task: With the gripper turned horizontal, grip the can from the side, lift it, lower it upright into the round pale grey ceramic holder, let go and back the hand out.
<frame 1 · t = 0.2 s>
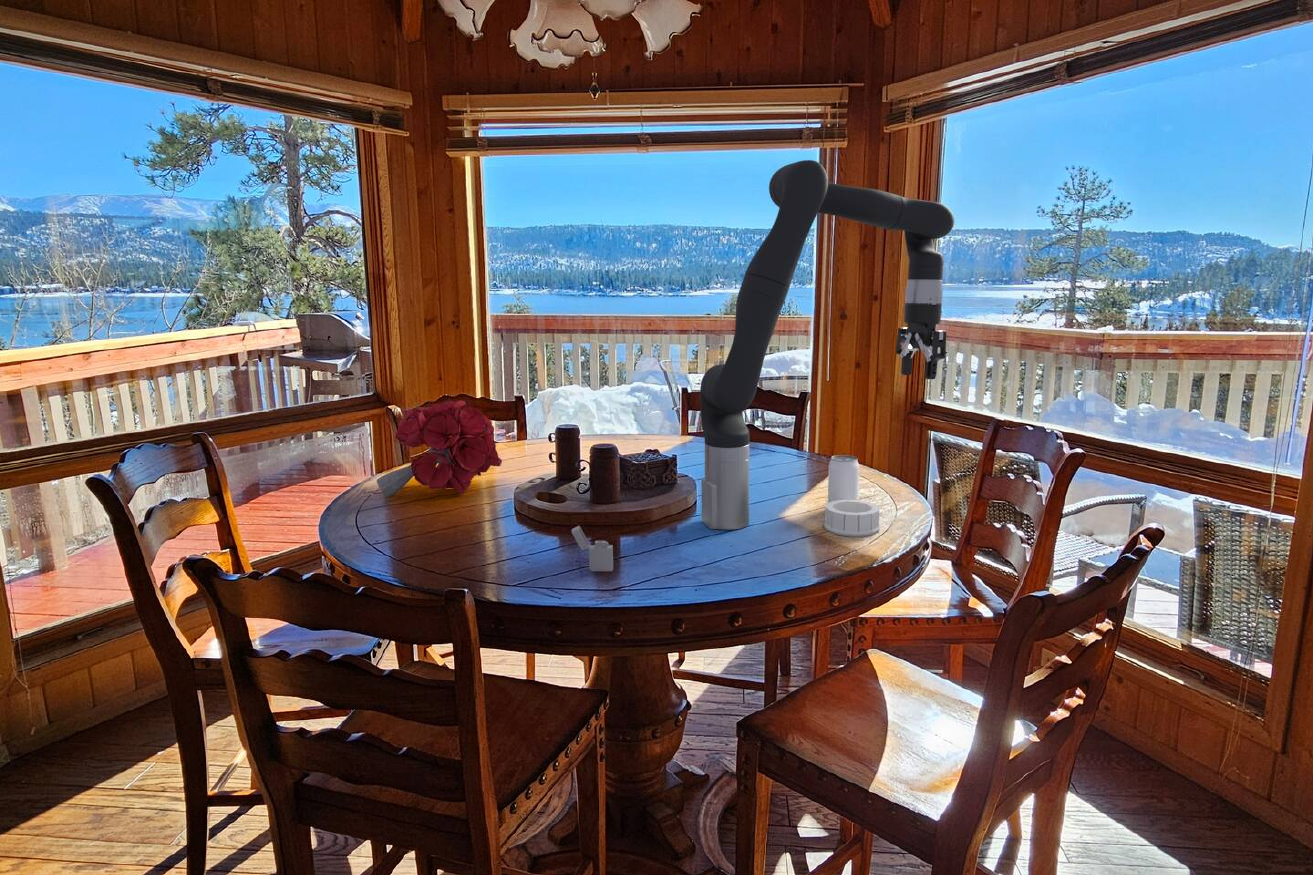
hand: (918, 377, 174), 29 cm above the table, tool pointing down, fingers open, 8 cm apart
bouquet: (442, 493, 195), on the table
can: (842, 512, 175), on the table
lighter: (593, 570, 143), on the table
holder: (851, 528, 163), on the table
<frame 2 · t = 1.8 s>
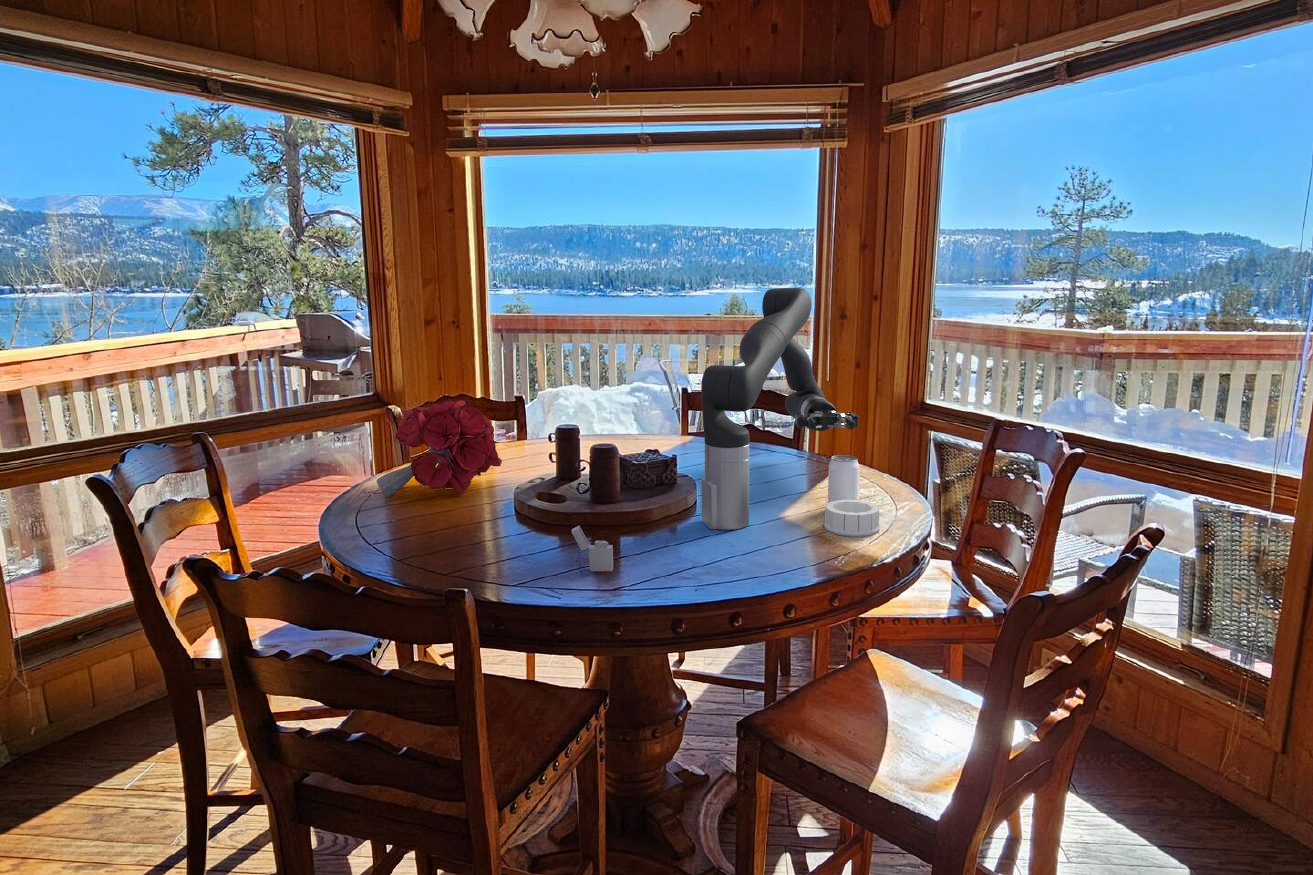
hand: (833, 426, 182), 17 cm above the table, tool horizontal, fingers open, 8 cm apart
nothing on the table moved.
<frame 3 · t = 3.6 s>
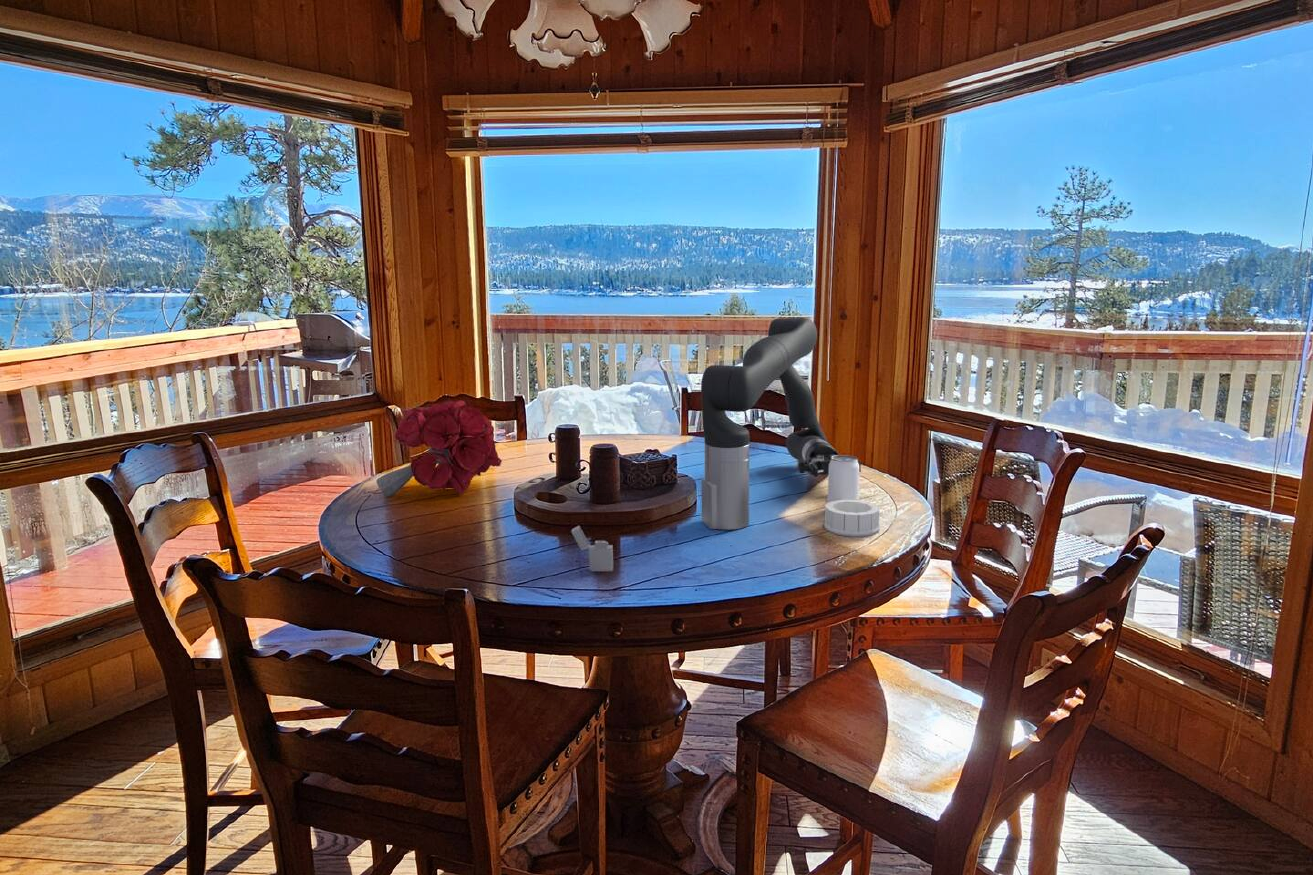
hand: (835, 472, 180), 7 cm above the table, tool horizontal, fingers open, 8 cm apart
nothing on the table moved.
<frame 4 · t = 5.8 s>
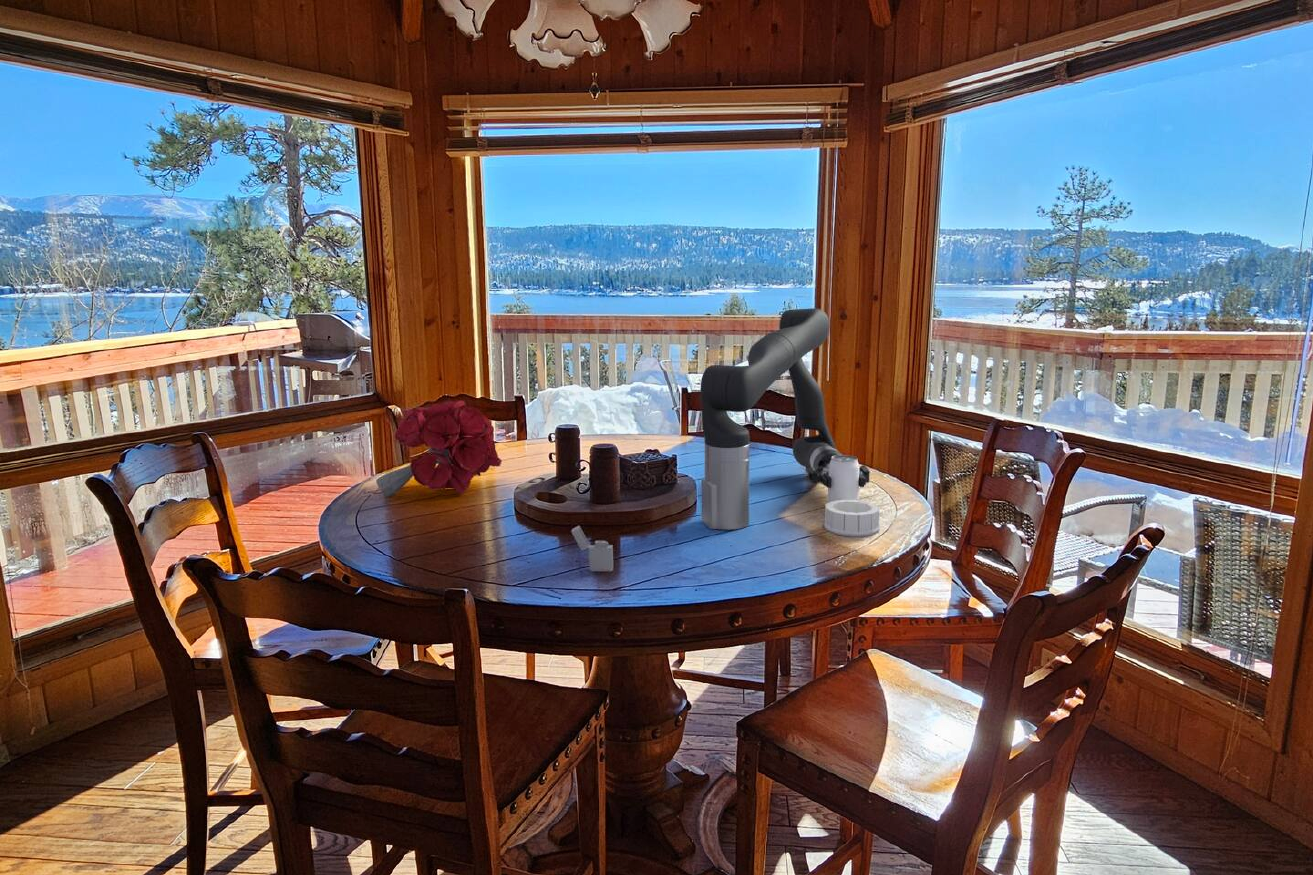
hand: (846, 483, 171), 7 cm above the table, tool horizontal, fingers closed on can, 6 cm apart
can: (842, 512, 175), on the table, touching gripper
everything else where it was.
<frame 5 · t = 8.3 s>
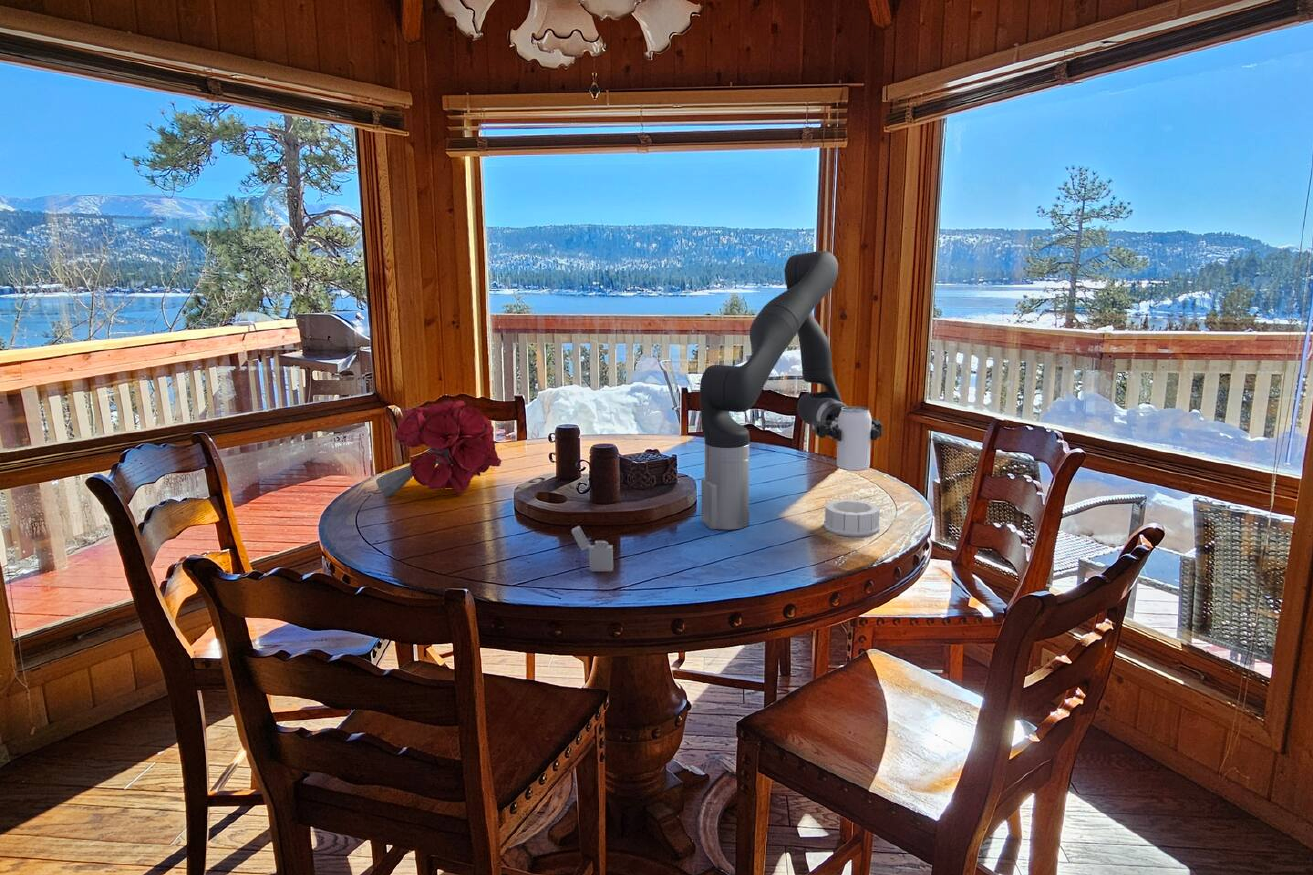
hand: (857, 435, 157), 20 cm above the table, tool horizontal, fingers closed on can, 6 cm apart
can: (852, 468, 161), point 12 cm above the table, touching gripper
everything else where it was.
when the fingers open (9 cm above the table, at t = 10.9 s): can drops 1 cm, resting on holder.
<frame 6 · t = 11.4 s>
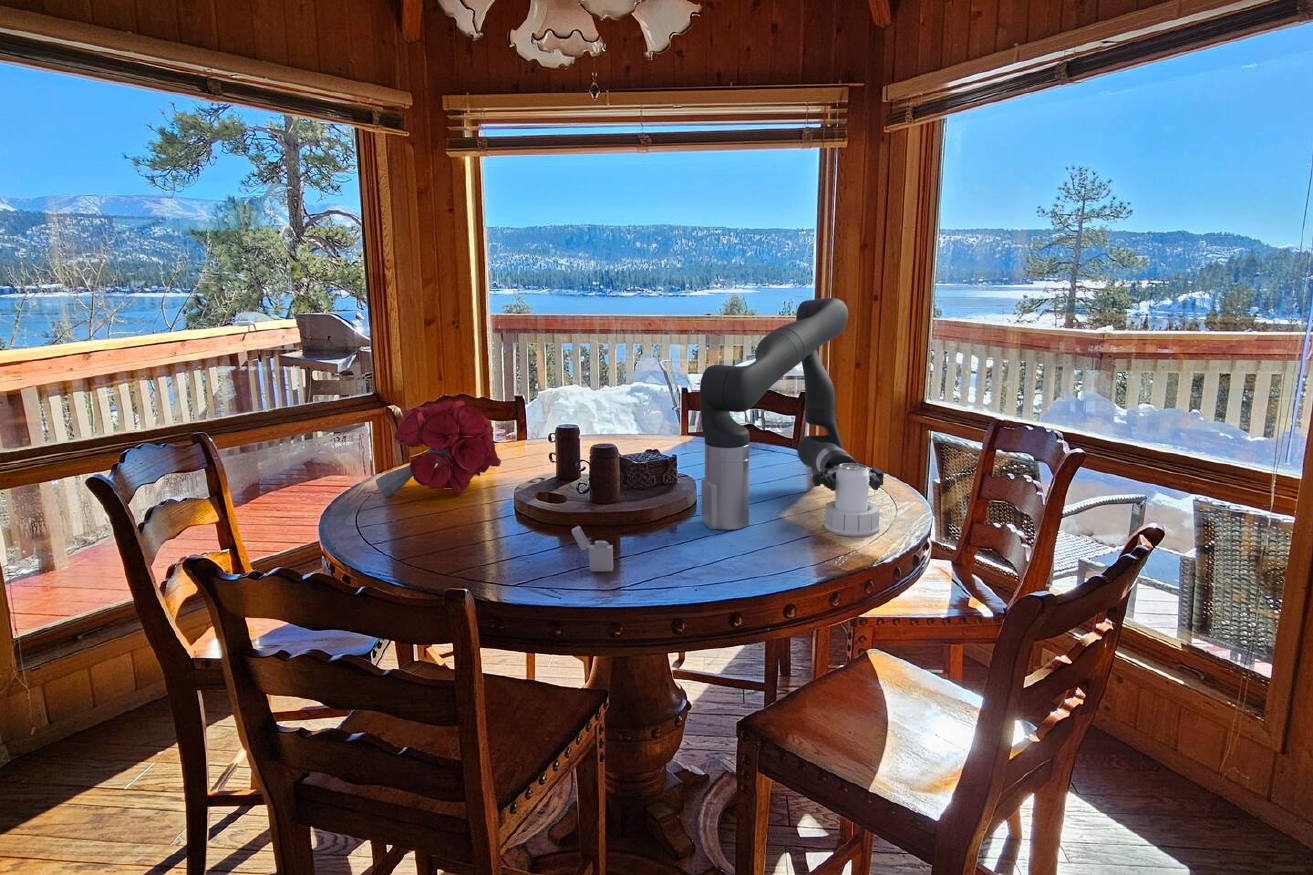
hand: (855, 485, 159), 10 cm above the table, tool horizontal, fingers open, 8 cm apart
can: (850, 524, 163), point 1 cm above the table, touching holder
everything else where it was.
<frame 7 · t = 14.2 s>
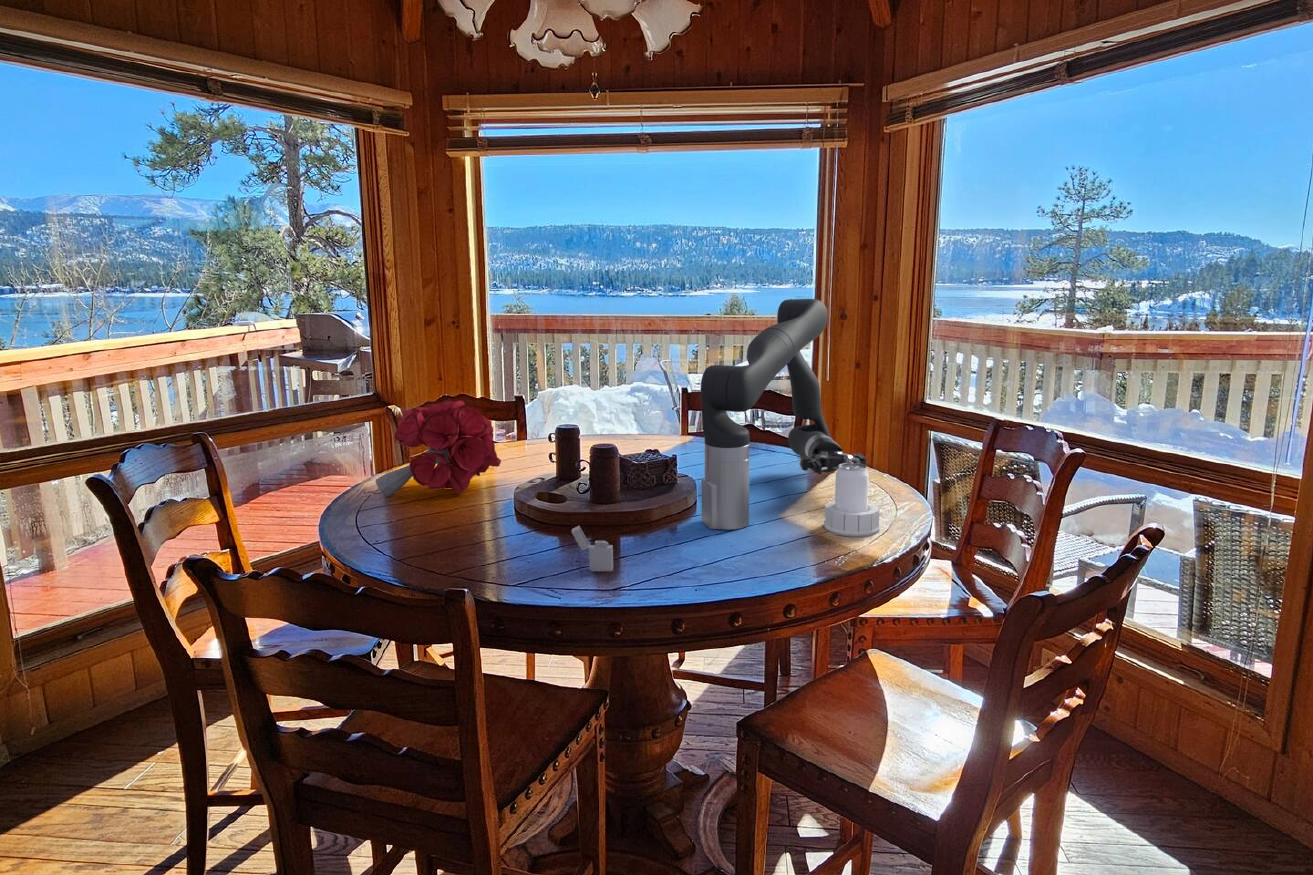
hand: (839, 469, 172), 10 cm above the table, tool horizontal, fingers open, 8 cm apart
nothing on the table moved.
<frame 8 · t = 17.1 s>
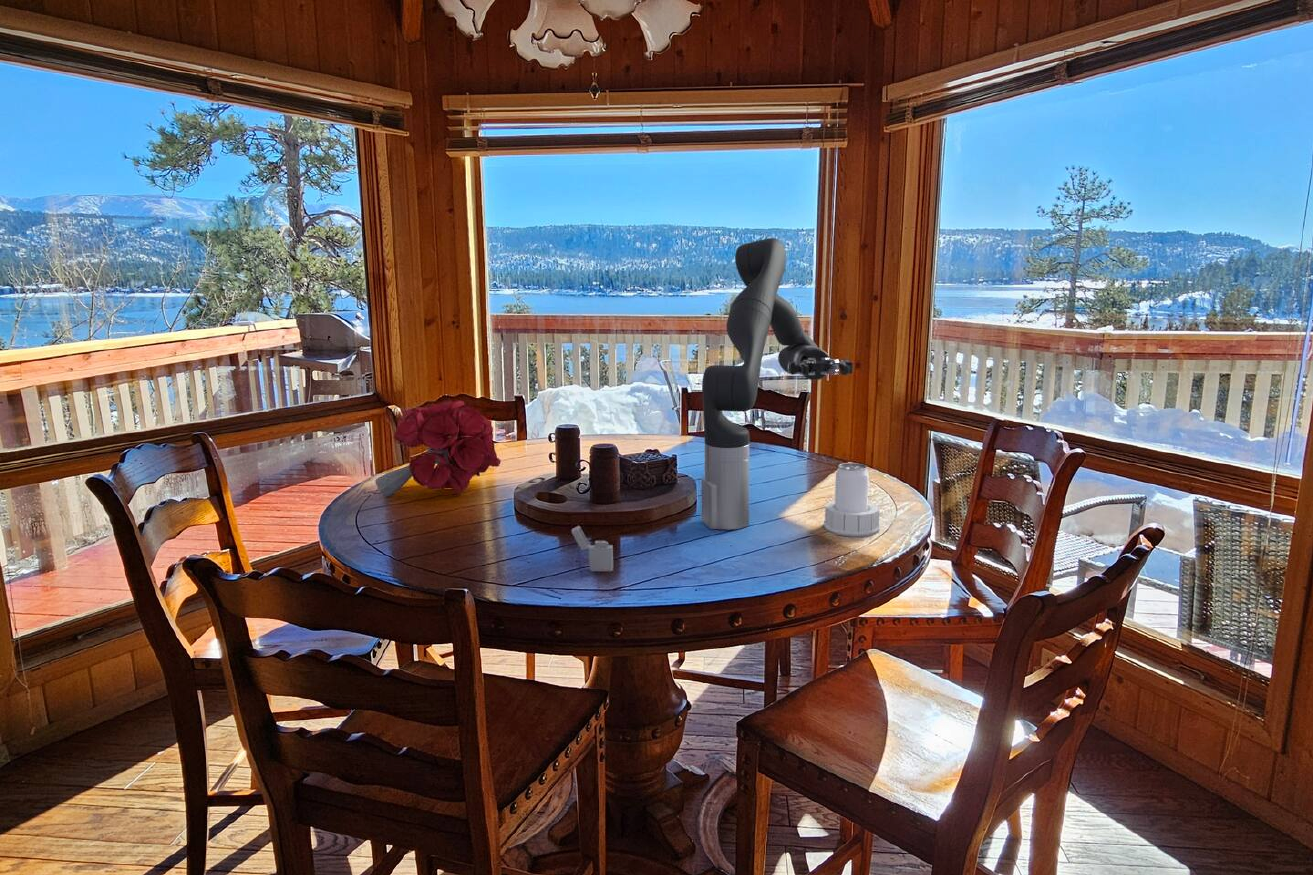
hand: (826, 370, 176), 30 cm above the table, tool horizontal, fingers open, 8 cm apart
nothing on the table moved.
at the end: can 0.2 cm off-centre on the holder, point 0.8 cm above the holder's base; can tilted 0°; the gripper is holding nothing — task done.
